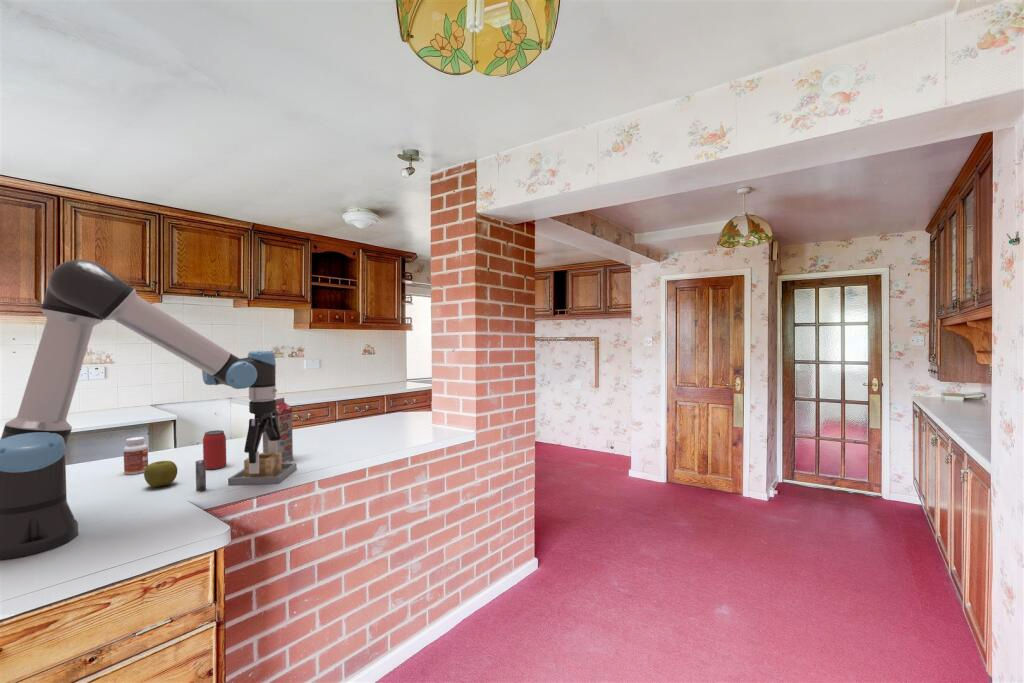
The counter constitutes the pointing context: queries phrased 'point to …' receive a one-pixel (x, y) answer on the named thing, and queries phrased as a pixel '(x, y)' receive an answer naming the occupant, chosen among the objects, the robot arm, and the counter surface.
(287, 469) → the tray
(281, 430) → the juice carton
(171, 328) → the robot arm
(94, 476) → the counter surface
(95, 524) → the counter surface
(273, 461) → the oak ring
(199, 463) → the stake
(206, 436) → the beer can
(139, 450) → the pill bottle
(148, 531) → the counter surface
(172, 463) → the apple
